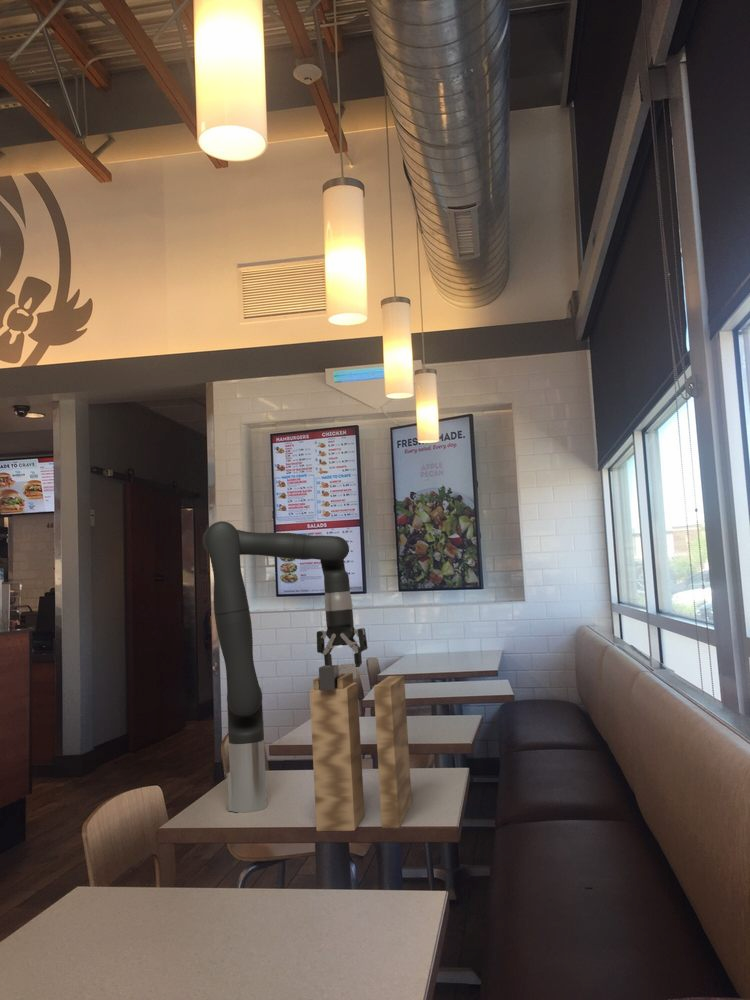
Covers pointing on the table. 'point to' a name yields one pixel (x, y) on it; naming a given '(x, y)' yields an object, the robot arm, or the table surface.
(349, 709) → the stand
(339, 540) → the robot arm
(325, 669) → the grey metal bar
